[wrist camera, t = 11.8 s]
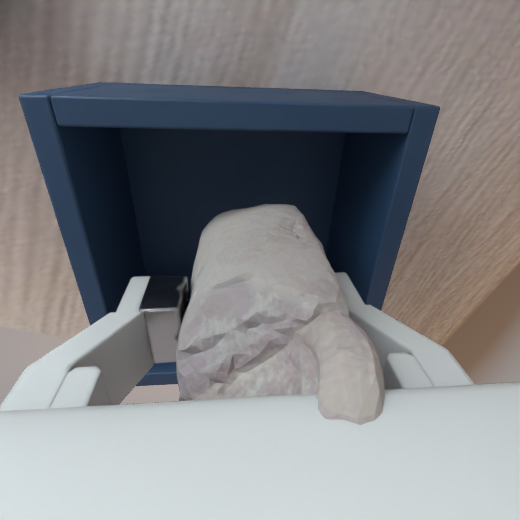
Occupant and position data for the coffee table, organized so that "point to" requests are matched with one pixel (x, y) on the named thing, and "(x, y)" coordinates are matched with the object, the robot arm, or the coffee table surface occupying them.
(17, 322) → the coffee table surface
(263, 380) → the fossil
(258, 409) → the robot arm
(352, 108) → the bin
